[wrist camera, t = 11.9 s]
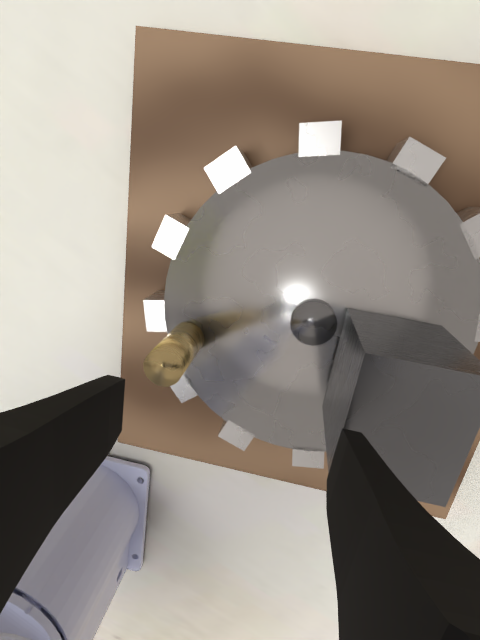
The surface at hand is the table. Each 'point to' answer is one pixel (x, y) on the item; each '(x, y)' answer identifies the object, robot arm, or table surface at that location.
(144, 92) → the base board
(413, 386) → the link block
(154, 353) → the wheel
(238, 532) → the table surface
